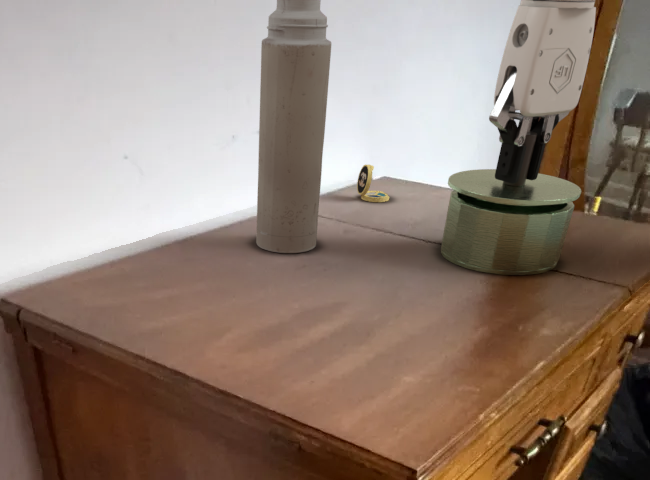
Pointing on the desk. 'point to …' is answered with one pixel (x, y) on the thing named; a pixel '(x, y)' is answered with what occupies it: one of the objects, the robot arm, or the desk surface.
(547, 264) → the tin
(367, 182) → the eyeshadow
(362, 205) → the desk surface
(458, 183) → the lid
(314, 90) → the thermos bottle
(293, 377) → the desk surface
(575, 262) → the desk surface
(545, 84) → the robot arm
